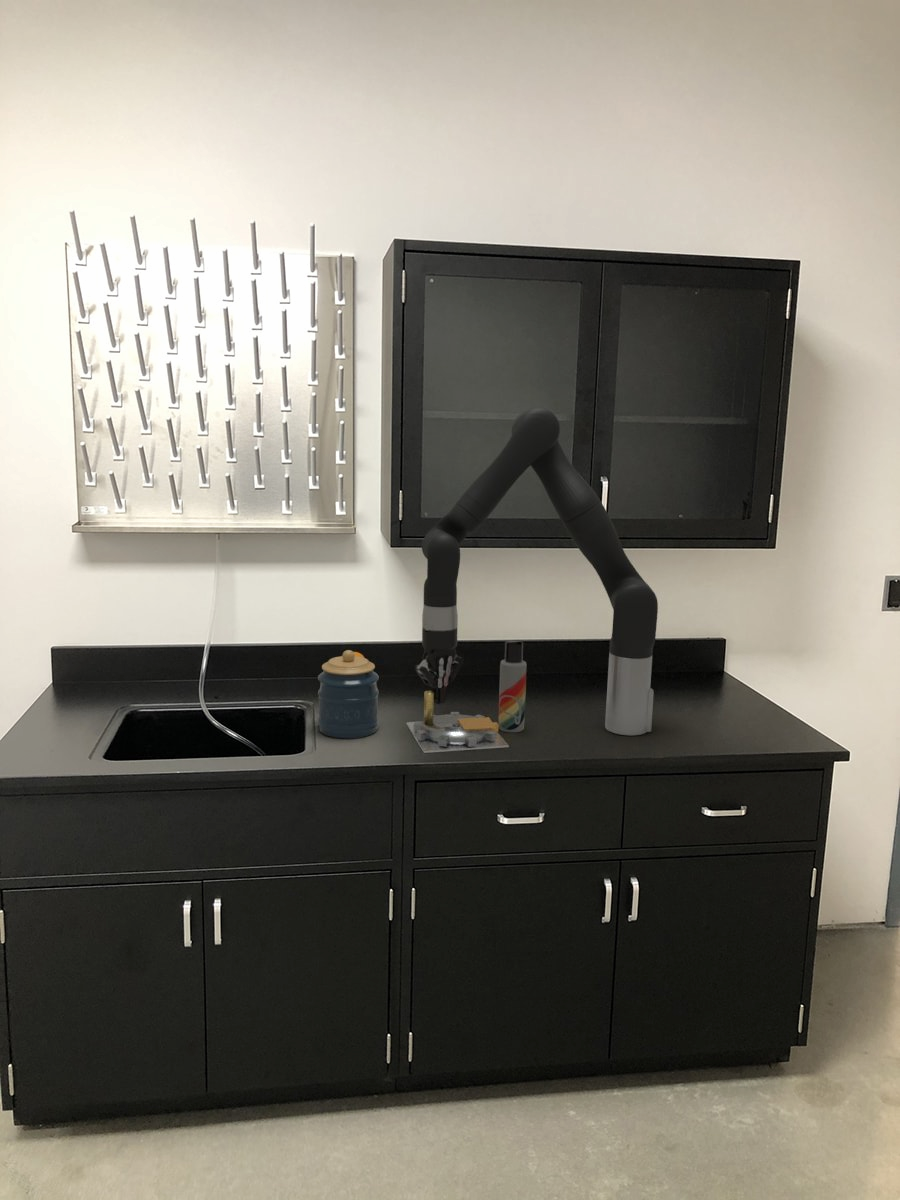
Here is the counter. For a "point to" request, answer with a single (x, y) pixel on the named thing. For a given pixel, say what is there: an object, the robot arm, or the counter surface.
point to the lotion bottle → (512, 688)
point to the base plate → (433, 746)
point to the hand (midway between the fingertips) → (439, 702)
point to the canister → (348, 697)
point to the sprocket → (453, 726)
